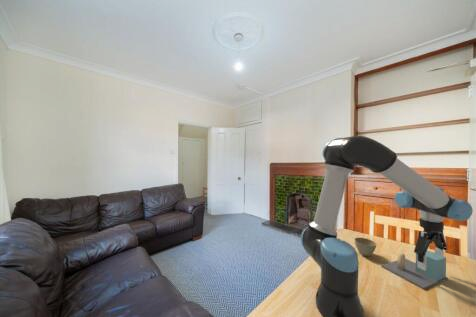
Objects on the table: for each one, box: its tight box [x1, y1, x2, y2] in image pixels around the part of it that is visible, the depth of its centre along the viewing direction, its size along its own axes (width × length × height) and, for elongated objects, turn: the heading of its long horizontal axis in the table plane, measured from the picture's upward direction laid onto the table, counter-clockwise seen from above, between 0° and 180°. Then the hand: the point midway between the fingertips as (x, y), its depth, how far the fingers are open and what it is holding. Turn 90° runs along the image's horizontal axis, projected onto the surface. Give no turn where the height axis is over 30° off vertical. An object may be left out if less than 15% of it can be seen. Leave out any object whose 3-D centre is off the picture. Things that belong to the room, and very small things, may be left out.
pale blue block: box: [415, 249, 447, 281], centre depth 82 cm, size 7×7×9 cm
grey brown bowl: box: [354, 237, 377, 257], centre depth 101 cm, size 10×10×7 cm
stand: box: [381, 252, 449, 290], centre depth 84 cm, size 18×16×8 cm
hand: (430, 265), depth 82 cm, fingers open, 13 cm apart
